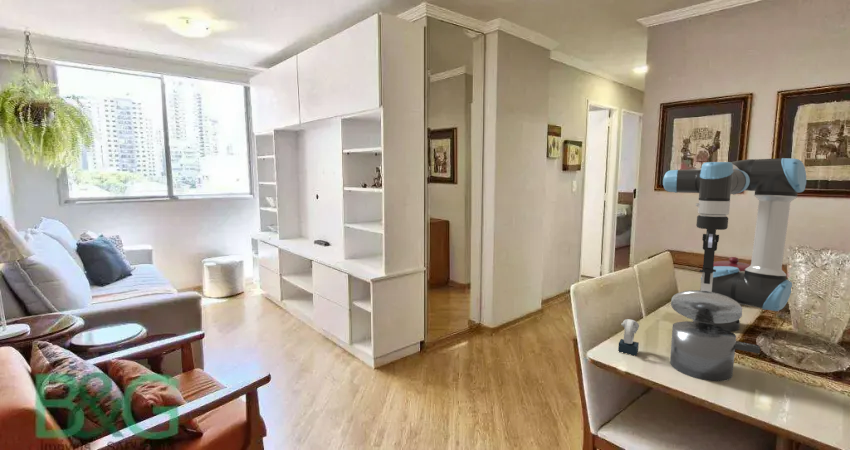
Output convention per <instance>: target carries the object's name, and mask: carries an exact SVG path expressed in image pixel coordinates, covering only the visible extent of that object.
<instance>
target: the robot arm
mask: <svg viewBox="0 0 850 450" xmlns="http://www.w3.org/2000/svg"><path fill="white" fill-rule="evenodd" d="M662 183H663V184H662V185H663V188H664V190H665V191H666V192H667V193H668V192H669V193H676V194H678V193H683V194H691V193H692V194H698V203H695V207H698V208H697V213H698V215H697V216H696V228H698V229H702V230H703V229H704V230H706V233H702V250H703V251H704V253H703V264H702V269H699V273H701V277H700V289H699V291H709V292H714V293H718V294H722V295H725V296H727V297H730V298H732V299H733V300H735V301H737V302H738V303H739V304H740V305H746V306H748V307H749V306H750V307H755V308H759V309H762V310H768V311H772V312H779V311H781V310H782V309H784V308H785V307H786V305H787V303H788V301H789V299H790V296H791V294H792V291H791V287H792V286H793V283H792V281H791V280H789V279H787V273H785V271H784V270H783V260H784V254H785V247H786V238H787V231H788V225H789V224H788V223H789V216H790V210H791V208H790V207H791V203H792V202H793V201H794V200H796V199H797V198H798V193H803V192H804V191H805V189H806V186H807V172H806V167H805V164H804V163H803V162H802V160H800V159H798V158H789V157H788V158H785V157H781V158H755V159H748V158H747V159H743V160H736V161H735V160H734V161H732V162H731V161H730V162H729V161H707V162H703V163H702V165H701V167H700V168H689V169H671V170H668V171H666V172H665V174H664V176H663V180H662ZM746 191H749V192H754V195H753V196H754V197H755V198H756V199H757V200H758V205H757V206H758V207H757V213H756V215H757V216H756V221H755V222H756V223H755V231H754V239H753V244H752V245H753V246H752V253H751V261H750V266H749V267H748V268H746V269H745V273H740V270H739V268H737V267H730V266H713V265H714V262H715V253H716V251H717V249H718V243H719V240H720V234H717V230H718V231H719V230H720V231H723V230H727V229H729V228H728V227H729V225H728V224H729V217H728V216H727V215H730V209H731V208H730V206H731V195H736V194H740V193H742V192H746ZM792 288H793V287H792ZM695 321H696V322H701V321H697V320H693V319H692V322H695ZM702 323H707V322H702ZM708 324H713V325H715V326H719V327H722V328H724V329H727V330H729V331H731V332H735V331H738V330H740V327H741V321H740V319H739V320H737V321H734V322H730V323H708Z"/></svg>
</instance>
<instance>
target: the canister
mask: <svg viewBox="0 0 850 450" xmlns="http://www.w3.org/2000/svg"><path fill="white" fill-rule="evenodd" d="M739 260H740V259H739V258H738V257H736V256H731V257H729V258H728V260H721V261H720V260H719V261H714V265H713V266H730V267H737V268H739V270H740V273H745V269H746V268H748V267H749V266H750V265H751V263H750V264H749V263H745V262H739Z"/></svg>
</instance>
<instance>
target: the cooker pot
mask: <svg viewBox="0 0 850 450" xmlns="http://www.w3.org/2000/svg"><path fill="white" fill-rule="evenodd" d="M671 327H672V329H671V330H672V332H671V342H670V343H671V345H670V355H669V356H670V359H669V364H670V366H671V367H672V368H673V369H674V370H676V371H678V372H680V373H681V374H683V375H686V376H687V377H688V376H689V377H692V378H694V379H698V380H702V381H703V380H704V381H709V382H726V381H729V380H731V379H732V378H733V376H734V375H733V374H734V365H735V364H734V362H735V352H736V350H737V351H738V350H739V351H744V352H748V353H749V352H750V353H754V354H760V353H761V352H760V351H761V346H760V345H758V344H754V343H747V342H744V341H743V342H742V341H738V340H737V335H736V334H735V333H734V332H733V331H729V330H727V329H724V328H722V327H719V326H715V325H713V324H708V323H702V322H696V321H695V322H693V321H687V320H686V321H684V320H683V321H677V322H675V323H673V324H672V326H671Z"/></svg>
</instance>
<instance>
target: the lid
mask: <svg viewBox="0 0 850 450" xmlns="http://www.w3.org/2000/svg"><path fill="white" fill-rule="evenodd" d="M670 301H671V302H670V306H671V308H672V309H673V310H674V311H675V312H676V313H678V314H679V315H681V316H683V317H685V318H687V319H690V320H692V321H693V320H697V321H701V322H707V323H730V322H734V321H737V320H739V321H740V319H741V318H742V316H743V307H742V304H739V303H738V302H737V301H735V300H733V299H732V298H730V297H727V296H725V295H722V294H718V293H714V292H709V291H700V289H699V290H698V289H697V290H695V289H694V290H684V291H680V292H677V293H675V294H673V296H672V297H671V300H670Z"/></svg>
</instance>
